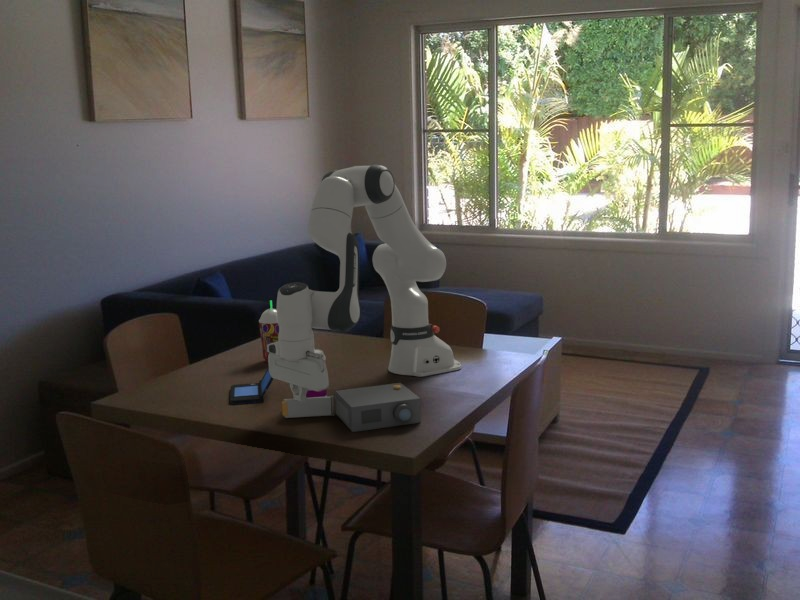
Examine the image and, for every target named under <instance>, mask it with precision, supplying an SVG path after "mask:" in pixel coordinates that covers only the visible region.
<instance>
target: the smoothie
mask: <svg viewBox="0 0 800 600" xmlns="http://www.w3.org/2000/svg"><path fill="white" fill-rule="evenodd" d="M269 306H270V308H267V309H265V310H264V311H263V312H262V314H260V315H261V316H260V318H259V320H258V323H259V325H258V326H259V332H260V340H261V341H260V342H261V348H262V349H261V351H262V356H263V357H262V358H263V359H264V360H265V363H267V364H268V355H269V352H268V351H267V345H268V344H271V343H274V342H277V341H279V340H278V335H279V325H278V322H277V308H273V300H269Z"/></svg>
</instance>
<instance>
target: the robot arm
mask: <svg viewBox="0 0 800 600" xmlns="http://www.w3.org/2000/svg"><path fill="white" fill-rule="evenodd" d="M311 205H312V206H311V208H310V213H309V218H308V225H307V228H308V229H307V230H308V233H309V236H310V238H311V239H312V241H313V242H314V243H315V244H316V245H317V246H319V248H320V247H321V248H322V249H324V250H325V251H327V252H330V253H332V254H334V255H336V256H338V258H339V262H340V264H339V288H338V289H337V291H319V290H314V289H313V290H312V289H309V285H307V284H306V283H304V282H297V281H296V282H290V283H286V284H283V285H282V286H281V287H279V289H278V291H277V297H276V310H277V322H278V325H279V335H278V340H279V341H277V342H274V343H271V344H268V345H267V351H268V352H269V355H268V363H267V364H268V367H269V373H270V375H271V377H272V378H274V379H273V380H279V381H280V382H284V383H287V384H288V383H289V388H290V390H291V392H292V395H293V396H292V397H293V398H294V400H295V401H299V402H305V401H306V394H307V391H308V389H310V390H313V391H317V392H318V391H322V390H325V389H327V390H328V388H329V385H330V383H329V382H330V381H329V373H328V372H329V371H328V369H327V364H325V362H324V359H323V358H322V357H321V355H320V354H318V353H315V350H314V349H315V336H314V331H313V329H314V330H315V329H317V330H319V329H320V330H331V331H334V332H341V333H347V332H349V331H350V330H352V329H353V328H354V327H356V325H357V324H358V323H359V322H360V316H361V305H360V303H361V302H360V296H359V295H360V294H359V293H360V291H359V289H360V246H359V241H358V238H357V237H356V235H354V234H353V232H352V225H351V224H352V221H353V220H352V219H353V213H354V208H359V207H364V208H365V210H366V212H367V215H368V217H369V220H370V222H371V224H372V227H373V229H374V232H375V234H376V236H377V237H378V238H379V240H380V241H381V242H383V243H381V244H379V245H378V246H377V247H376V248H375V249H374V251H373V254H372V266H373V268H374V270H375V272H376V273H378V275H380V277H381V279H382V280H383V282H384V284H385V286H386V289H387V291H388V294H389V297H390V298H389V299H390V308H391V325H390V342H391V352H390V359H389V364H388V368H387V370H388V372H389V373H392V374H396V375H403V376H415V377H428V376H433V375H438V374H443V373H448V372H453V371H458V370H459V371H460V370H461V369H462V364H461V362H460V361H459V360H456V359H455V358H454V352H453V350H452V348H451V346H450V345H449V344H447V343H446V342H445V341H444V340H442V339H440V338H439V337H437V336H436V335H435V334H439V332H440V331H441V330H440V327H439V326H437V325H433V324H432V323H429V301H428V298H427V296H426V295H425V294H424V293H423V292H422V291H421V289H420V288H419V287H418V284H417V282H420V283H425V282H434V281H438V280H439V279H441V278H442V277H443V275H444V273H445V271H446V269H447V260H446V256H445V253H444V252H443V251H442V250H441V249H440V248H438V247H436V246H435V245H434V244H433V243H431V242H430V241H429V240H428V239H427V238H426V237H425V235H424V234H423V233H422V232H421V231H420V230H419V228H418V227H417V226H416V224H415V223H414V221H413V219H412V217H411V215H410V212H409V210H408V208H407V205H406V203H405V201H404V198H403V197H402V194H401V192H400V189H398V186H397V184H396V183H395V178H394V176H393V174H392V172H391V171H390V170H389V169H388V167H386V166H384V165H380V164H371V165H353V166H351V167H346V168H342V169H334V170H331V171H329V172H327V173H325V174H324V175H323V177H322V178H321V181H320V183H319V185H318V187H317V190H316V192H315V195H314V199H313V202H312V204H311ZM298 386H299V387H298Z"/></svg>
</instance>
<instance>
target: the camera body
mask: <svg viewBox="0 0 800 600" xmlns="http://www.w3.org/2000/svg"><path fill="white" fill-rule="evenodd" d="M334 392H335V393H334V394H335V395H334V396H335V413H336V414H335V415H336V416H337V417H338V418H339V419H340V420H341V422H342V423H344V425H345V426H346V427H347V428H348V429H349V430H350V431H351V432H352V433H355V432H362V431H368V430H369V431H370V430H376V429H384V428H391V427H398V426H407V425H411V424H412V425H413V424H420V423H421V422H422V417H421V416H422V415H421V414H422V413H421V397H419V395H417V394H415V393H414V392H413V391H411V389H409V388H408V387H407V386H405V385H404V384H402V383H401V382H398V383H396V382H395V383H388V384H381V385H380V384H379V385H374V386H363V387H357V388H356V387H355V388H347V389H340V390H339V389H338V390H335V391H334Z"/></svg>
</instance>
